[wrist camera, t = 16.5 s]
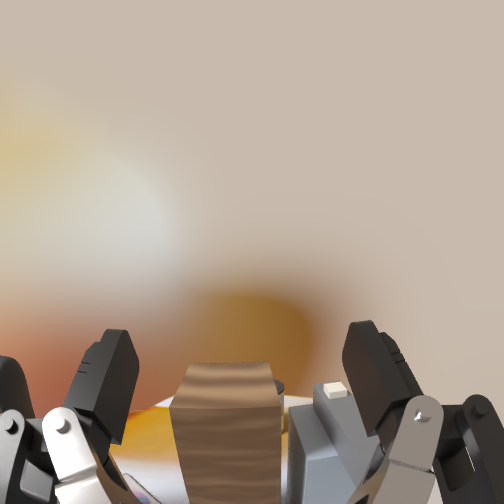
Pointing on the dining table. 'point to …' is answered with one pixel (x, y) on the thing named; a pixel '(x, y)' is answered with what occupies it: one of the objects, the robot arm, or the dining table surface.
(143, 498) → the smartphone
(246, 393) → the walnut stand
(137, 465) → the dining table surface
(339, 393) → the bar
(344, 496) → the block
